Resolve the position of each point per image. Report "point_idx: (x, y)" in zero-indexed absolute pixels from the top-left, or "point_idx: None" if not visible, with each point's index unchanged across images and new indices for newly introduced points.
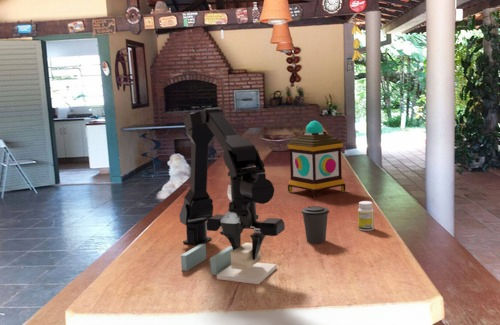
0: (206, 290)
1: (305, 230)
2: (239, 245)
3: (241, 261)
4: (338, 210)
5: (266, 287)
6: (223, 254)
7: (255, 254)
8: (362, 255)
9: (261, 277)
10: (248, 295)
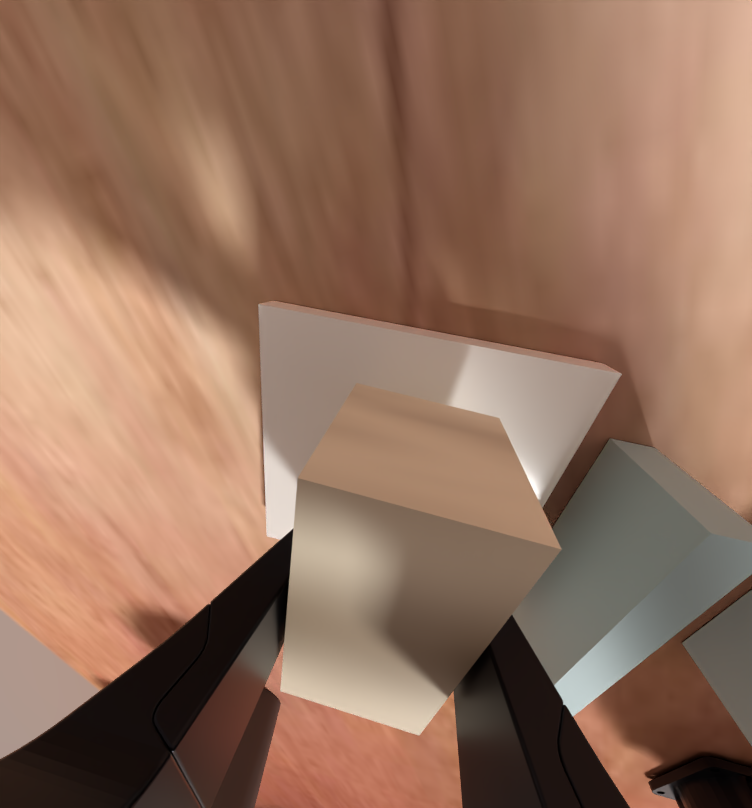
0: (721, 36)
1: (260, 755)
2: (463, 701)
3: (387, 431)
4: (286, 801)
5: (204, 251)
6: (609, 621)
7: (276, 545)
8: (72, 599)
9: (260, 356)
10: (253, 13)
